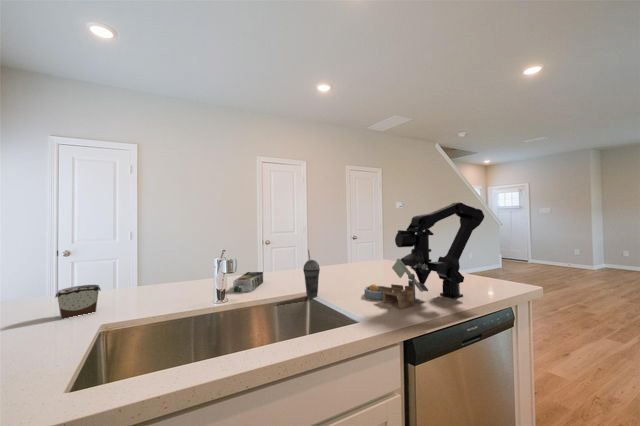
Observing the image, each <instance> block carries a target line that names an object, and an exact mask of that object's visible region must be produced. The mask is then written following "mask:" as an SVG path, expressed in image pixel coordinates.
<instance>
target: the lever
mask: <svg viewBox="0 0 640 426" xmlns="http://www.w3.org/2000/svg"><path fill="white" fill-rule="evenodd" d="M391 269H392V270H393V271H394V273H395V274H396V275H397V276H398V278H399V279H402V277H403V276H404V274H406V275H407V277H408V278H407V279H408V280H411V281H415V287H416V288H417V289H418V290H419V291H420V292H421V293H423V292H426V293H427V292H429V289H428V288H427V286H426V284H423V283H420V282H419V281H418V280H417V279H416V276H415V274H414V273H412V272H411V271H410V270H409V268H408V266H405V265H404V263H403V262H402V261H401V258H397V259H396V261H395V263H394V264H393V265H392V267H391Z"/></svg>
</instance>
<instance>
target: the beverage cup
mask: <svg viewBox="0 0 640 426" xmlns="http://www.w3.org/2000/svg"><path fill="white" fill-rule="evenodd" d="M307 253H308V260H307V261H306V262H305V263H304V265H303V268H302V270H303V275H304V282H305V289H306V290H305V291H306V297H307V298H309V299H315V298H318V293H319V277H320V276H319V275H320V271H321V267H320V265H319V263H318V262H317V261H316V259H315V260H314V259H311V255H310V250H309V249H307Z"/></svg>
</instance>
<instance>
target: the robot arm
mask: <svg viewBox="0 0 640 426" xmlns="http://www.w3.org/2000/svg"><path fill="white" fill-rule="evenodd" d="M453 215H456V216H457V217H459V225H460V226H459V229H458V231H457V232H456V235H455V237H454V238H453V241H452V243H451V245H450V247H449V249H448V252H447V253H446V255H444V256H439V257H438V259H437V261H432V259H430V253H431V252H432V249H431V248H430V240H429V238H430V237H429V236H434V232H432V230H430V229H431V228H432V227H434V226H435V224H436V223H439V222H440V221H442V220H444V219H446V218H447V219H448V218H449V217H451V216H453ZM484 219H485V215H484V212H483V210H482V209H480V208H476V207H473V206H470V205H467V204H465V203H463V202H459V201H458V202H453V203H451V204H449V205H446V206H444V207H441V208H440V209H437V210H435V211H433V212H430V213H426V214H425V213H424V214H419V215H415V216H412V218H411V220H410V223H409V225H408V227H407V228H406V229H405V230H401V229H399V230H397V233H396V235H395V238H394V243H395V245H396V247H397V248H412V247H413V248H412V249H411V252H410V253H409V254H407V255H405V256H403V257H401V258H400V259H401V261H402V262H403V263H404V265H405V266H406V267H410V269H411V270H413V271H414V273H415V274H416V276H417V279H418V280H417V281H418V282H419V283H423V284H424V285H426V282H427V279H428V278H429V276H430V274H431V272H436V274H437V276H438V278H439V279H440V280H442V292H440V293H439V295H440V296H444V297H448V298H450V299H456V298H461V297H464V294H463V293H461V291H460V290H461V289H460V288H461V287H460V284H461V283H464V280H465V277H464V275H463V274H462V273H461V272H460V267H461V266H460V259H461V256H462V254H463V252H464V250H465V248H466V246H467V244H468V241H469V240H470V237H471V235H472V234H473V231H474V230H475V229H476V228H478V227H479V226H480V225H481V223H482V222H483V221H484Z"/></svg>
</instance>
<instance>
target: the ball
mask: <svg viewBox="0 0 640 426" xmlns="http://www.w3.org/2000/svg"><path fill="white" fill-rule="evenodd" d="M368 286H369V291H372V292H378V286H379V285H377V284H375V283H372V284H370V285H368Z"/></svg>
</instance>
